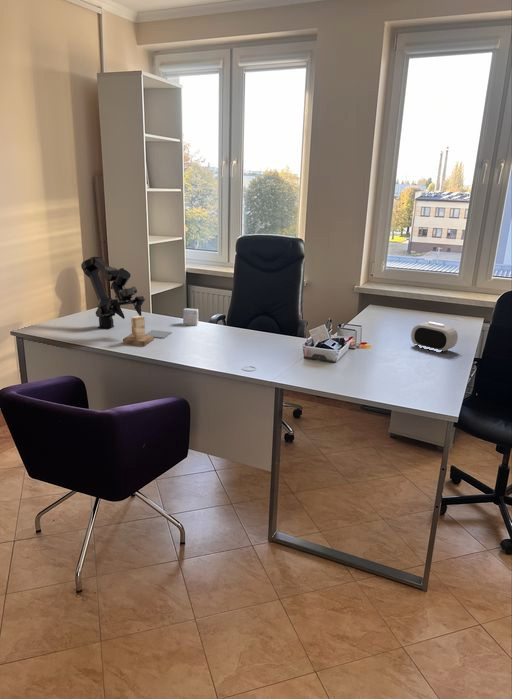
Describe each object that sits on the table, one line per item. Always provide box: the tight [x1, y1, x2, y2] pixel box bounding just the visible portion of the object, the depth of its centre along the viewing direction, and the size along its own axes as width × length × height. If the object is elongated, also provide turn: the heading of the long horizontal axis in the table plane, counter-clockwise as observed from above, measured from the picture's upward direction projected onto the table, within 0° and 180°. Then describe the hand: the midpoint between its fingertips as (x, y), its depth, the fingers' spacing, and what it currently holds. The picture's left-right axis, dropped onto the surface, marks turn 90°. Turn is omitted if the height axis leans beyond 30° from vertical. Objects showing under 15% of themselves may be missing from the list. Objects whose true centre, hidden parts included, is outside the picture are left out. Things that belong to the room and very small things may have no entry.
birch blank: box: [130, 315, 146, 339], centre depth 245 cm, size 4×4×10 cm
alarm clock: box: [410, 321, 458, 352], centre depth 256 cm, size 21×10×13 cm, turn 47°
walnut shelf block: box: [122, 333, 154, 347], centre depth 246 cm, size 11×11×2 cm
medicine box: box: [182, 307, 199, 327], centre depth 282 cm, size 8×4×9 cm, turn 84°
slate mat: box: [145, 329, 173, 340], centre depth 260 cm, size 11×11×1 cm
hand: (132, 317), depth 247 cm, fingers open, 9 cm apart
